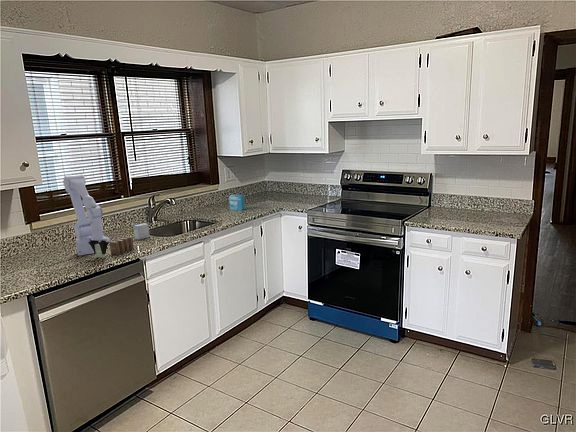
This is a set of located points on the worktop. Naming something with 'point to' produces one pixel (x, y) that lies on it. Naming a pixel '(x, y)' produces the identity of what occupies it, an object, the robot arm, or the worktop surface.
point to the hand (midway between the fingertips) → (100, 253)
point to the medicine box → (141, 231)
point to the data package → (237, 202)
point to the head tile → (130, 242)
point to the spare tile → (98, 251)
